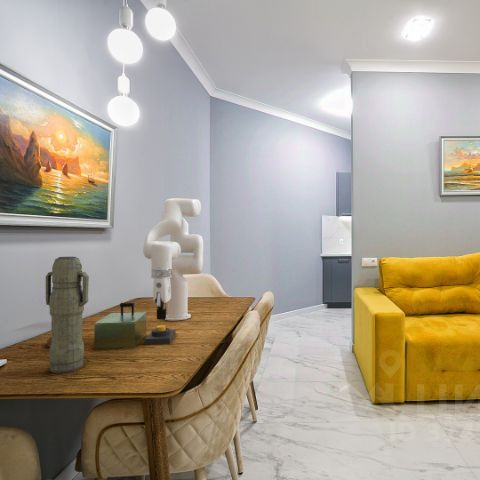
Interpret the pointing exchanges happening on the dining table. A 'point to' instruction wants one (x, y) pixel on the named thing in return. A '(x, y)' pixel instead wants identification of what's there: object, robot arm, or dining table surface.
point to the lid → (122, 316)
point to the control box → (160, 337)
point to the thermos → (66, 313)
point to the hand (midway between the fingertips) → (161, 318)
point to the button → (161, 328)
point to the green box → (119, 335)
